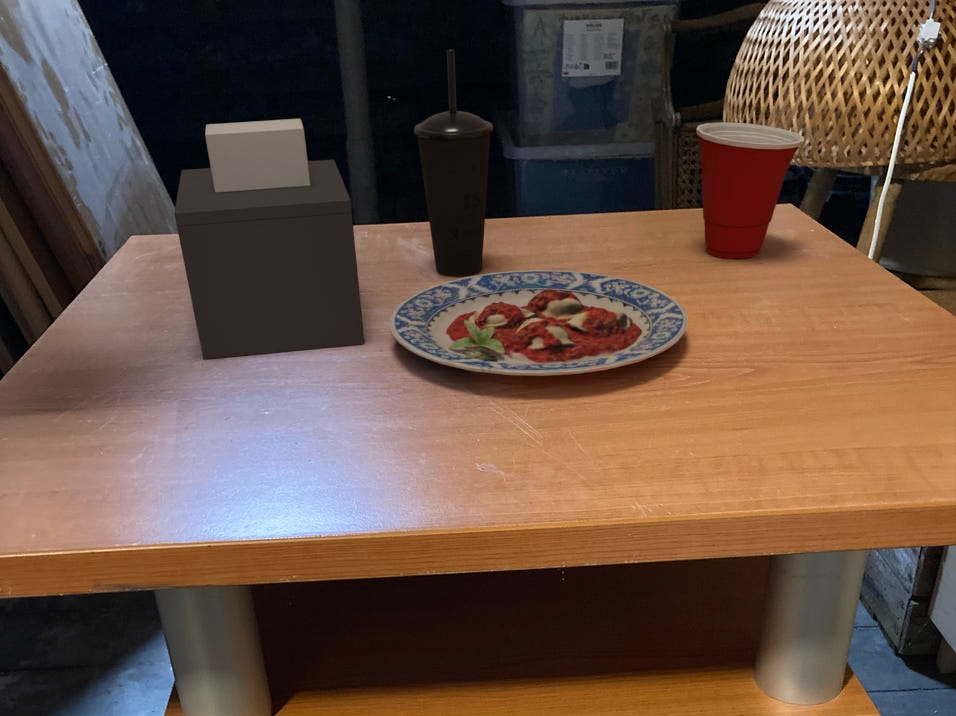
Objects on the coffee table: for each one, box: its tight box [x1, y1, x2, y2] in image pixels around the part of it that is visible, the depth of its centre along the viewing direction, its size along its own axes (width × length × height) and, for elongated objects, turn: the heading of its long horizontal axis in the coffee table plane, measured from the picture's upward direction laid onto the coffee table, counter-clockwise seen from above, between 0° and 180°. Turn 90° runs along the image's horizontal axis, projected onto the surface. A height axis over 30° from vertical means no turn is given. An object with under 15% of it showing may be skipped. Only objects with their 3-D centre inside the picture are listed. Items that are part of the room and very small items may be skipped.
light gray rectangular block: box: [204, 118, 310, 193], centre depth 85 cm, size 8×4×4 cm, turn 101°
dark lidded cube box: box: [174, 159, 365, 360], centre depth 90 cm, size 14×16×12 cm
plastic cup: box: [695, 121, 805, 259], centre depth 104 cm, size 11×11×12 cm
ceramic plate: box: [389, 269, 689, 377], centre depth 87 cm, size 26×26×3 cm
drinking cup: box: [413, 49, 494, 277], centre depth 99 cm, size 8×8×20 cm
